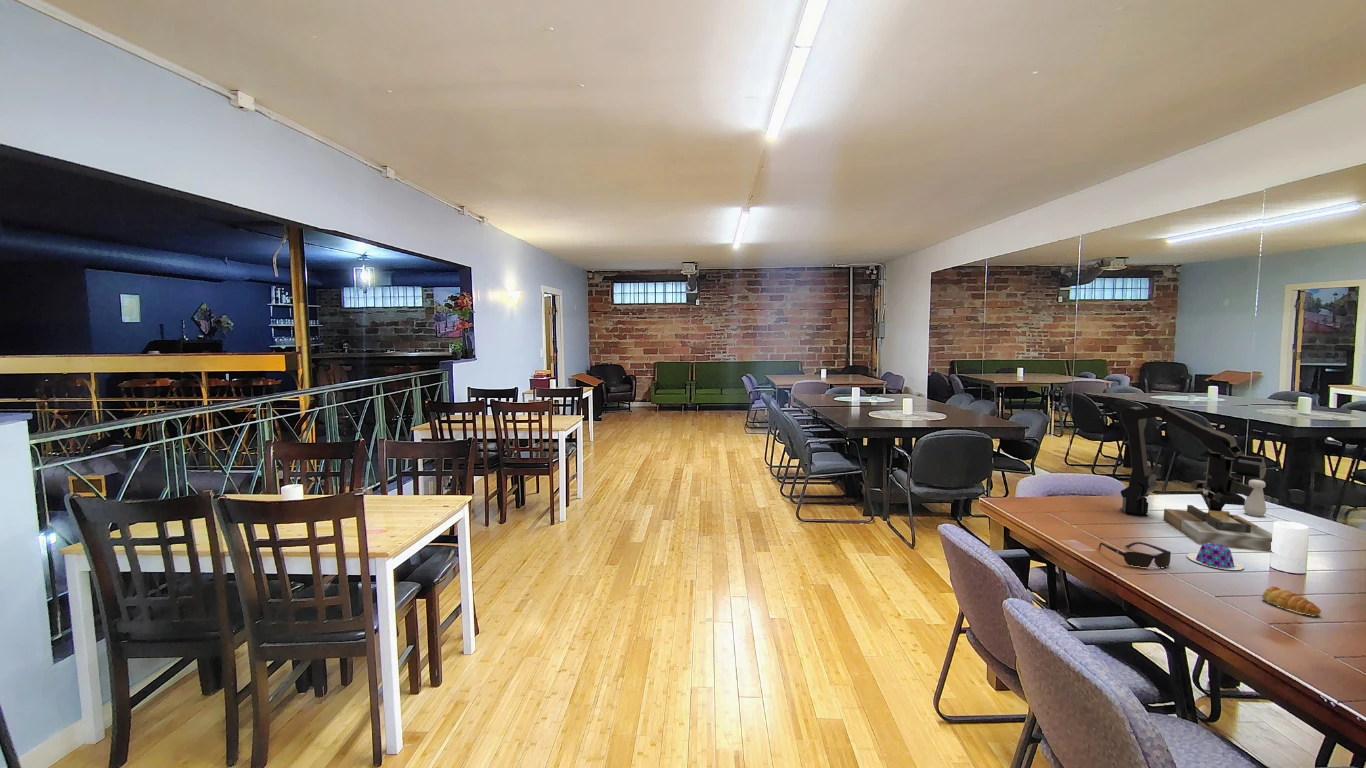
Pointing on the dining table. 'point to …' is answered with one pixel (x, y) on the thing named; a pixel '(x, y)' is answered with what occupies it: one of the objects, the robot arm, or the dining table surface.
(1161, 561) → the sunglasses
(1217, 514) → the bolt
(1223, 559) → the purple patterned hat
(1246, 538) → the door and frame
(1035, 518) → the dining table surface
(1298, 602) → the pastry
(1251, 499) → the salt shaker
